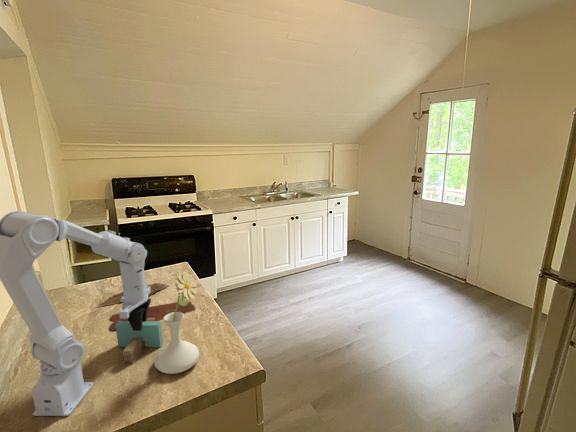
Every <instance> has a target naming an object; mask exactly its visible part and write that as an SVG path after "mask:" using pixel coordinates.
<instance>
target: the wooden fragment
mask: <svg viewBox="0 0 576 432" xmlns="http://www.w3.org/2000/svg"><path fill="white" fill-rule="evenodd" d="M147 286H150V290H151V292H150V293H149V294H148V297H150V296H152V295H154V294H156V293H157V292H160V291H162V290H163V289H165V288H167V287H170V285H169V284H164V283H161V282H154V283H151V284H148V285H147ZM122 297H124V293H123V291H121V292H119V293H116V294H113V295H112V296H110V297H108V298H107V299H106V300H104V301H103V302H101V303H99V304H97V306H96V307H95V308H101V307H106V306H109V305H114V304H119V303H122V302H121V301H120V299H121V298H122Z"/></svg>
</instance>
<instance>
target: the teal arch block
mask: <svg viewBox="0 0 576 432" xmlns="http://www.w3.org/2000/svg"><path fill="white" fill-rule="evenodd" d="M162 330H163V329H162V322H161V320H158V321H142V329H141V331H133V329H132V327H131V324H130V323H129V321H119V322H118V323H117V324H116V330H115V331H116V338H117V345H118V346H117V347H119V348H126V347H127V345H128V344H129V343H130V341H131V340H132V339H133V337H141V341H146V345H145V346H146V348H161V347H162V346H163V343H164V339H163V331H162Z"/></svg>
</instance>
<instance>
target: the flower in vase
mask: <svg viewBox="0 0 576 432" xmlns="http://www.w3.org/2000/svg"><path fill="white" fill-rule="evenodd" d="M197 286H198V284H197V282H196V280H195V279H194V277H193V276H192V274H189V273H188V272H187V271H182V272H178V274H177V275H176V278H175V287H176V289H175V290H176V291H177V292H178V293H177V294H178V296H177V301H176V302H177V305H176V309H172V310H169V309H167V312H168V311H175V312H172V313H169V314H167V315H166V316H165V317H164V318H163V319H162V320H163V322H165V323H166V325H167V327H168V328H169V332H170V342H169V343H168V344H167V345H165V346H164V347H162V348H161V349H160V350H159V351H158V353H157V354H156V356H155V359H154V366H155V368H156V369H157V370H158V371H159V372H161V373H163V374H169V375H171V374H172V375H174V374H180V373H182V372H185V371H187V370H189V369H191V368H192V367H193V366H194V365H196V363H197V362H198V360H199V359H200V355H201V354H200V353H201V352H200V350H199V348H198V347H197V346H196V345H195V344H194V343H193V342H192V343H191V342H189V341H185V340H182V338H181V331H180V330H181V322H182V320H183V319H184V317H185V313H184V314H183V313H181V312H176V311H177V310H178V309H177V307H178V303H179V304H180V305H182V306H186V305H187V304H188V302H189V301H190V302H191V301H193V300H196V299H195V298H196V295H198V288H197Z"/></svg>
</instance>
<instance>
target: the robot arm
mask: <svg viewBox="0 0 576 432" xmlns="http://www.w3.org/2000/svg"><path fill="white" fill-rule="evenodd" d="M65 239H67V240H70V241H74V242H77V243H79V244H84V245H87V246H90V247H91V250H92V252H93V253H94V254H97V255H99V256H104V257H107V258H109V259H113V260H115V261H116V262H119V269H120V270H119V271H120V278H121V283H122V286H121V287H122V292H123V293H124V297H122V298H121V299H120V301H121V302H120V303H122V306H121V309H120V311H119V312H118V313H119V314H120V318H127V319H128V321H129V323H130V324H131V327H132V329H133V331H141V329H142V321H146V317H147V311H148V308H149V307H150V304H151V303H152V299H151V298H149V296H148V294H149V293H150V292H151V290H150V286H148V285H146V276H145V265H146V263H145V260H146V258H147V255H148V250H147V249H146V248H145V246H144V245H143V244H142V243H140V242H135V241H131V238H130V237H126V236H124V237H122V236H120V235H116V231H113V230H108V231H106V230H104V231H103V230H102V231H100V232H98V233H97V232H95V231H92V230H89V229H87V228H85V227H83V226H81V225H80V226H79V225H78V224H75V223H72V222H70V221H68V220H64V219H59V218H55V217H54V218H53V217H50V216H48V215H38V214H33V213H28V212H24V211H22V210H15V211H10V212H9V213H6V214H5V215H3V217H2V218H1V219H0V282H1V283H2V285H3V287H4V289H5V290H6V292H7V293H8V296H9V297H10V299H11V300H12V302H13V303H14V306H15V307H16V309H17V311H18V313H19V314H20V316H21V318H22V319H23V322H24V323H25V325H26V326H27V328H28V330H29V332H30V333H31V335H30V336H29V337H28V340H29V342H30V343H31V349H30V354H31V355H32V357H33V358H34V359H36V360H39V363H40V375H39V377H38V380H37V382H36V383H35V384H34V385H33V387H32V389H31V396H32V399H33V405H34V408H35V410H34V412H32V415H33V416H34V417H35V416H36V417H43V416H44V417H45V416H49V417H50V416H51V417H68V416H70V415H71V414H72V413H73V411H74V410H75V409H76V407H77V406H78V405H79V403H80V402H81V401H82V400H83V399H84V397H85V396H86V394H87V393H88V392H89V391H90V389H91V388H92V387H93V386H94V382H93V381H85V380H84V374H83V369H82V365H81V364H82V363H81V361H82V359H83V358H84V356H85V355H84V354H85V345H84V344H83V343H82V341H80V340H77V339H76V337H75V336H74V334H73V333H72V332H70V330H68V329H67V328H66V327H65V326H64V325H63V324H62V322H61V320H60V318H59V316H58V314H57V312H56V310H55V308H54V307H53V305H52V302H51V301H50V299H49V297H48V294H47V293H46V291H45V289H44V287H43V285H42V283H41V281H40V279H39V277H38V276H37V274H36V272H35V270H34V268H33V265H34V263H35V261H36V260H37V259H38V258H39V257H40V256H41V255H42V254H43V253H44V252H45V251H47V249H49V247H50V246H51V245H52V244H54V242H55V241H56V242H61V241H63V240H65Z"/></svg>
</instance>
